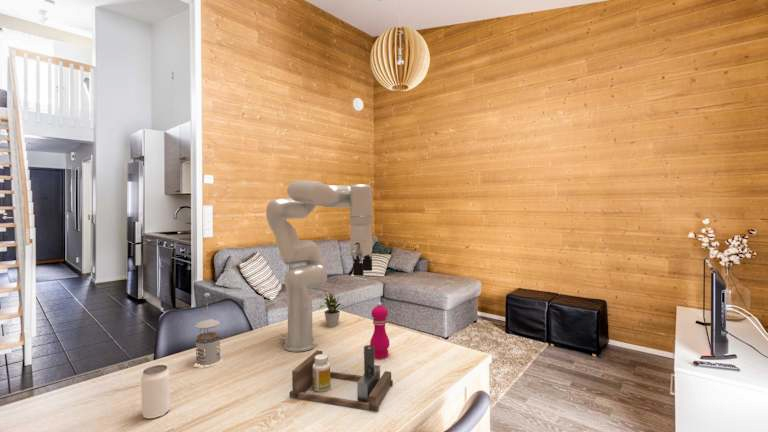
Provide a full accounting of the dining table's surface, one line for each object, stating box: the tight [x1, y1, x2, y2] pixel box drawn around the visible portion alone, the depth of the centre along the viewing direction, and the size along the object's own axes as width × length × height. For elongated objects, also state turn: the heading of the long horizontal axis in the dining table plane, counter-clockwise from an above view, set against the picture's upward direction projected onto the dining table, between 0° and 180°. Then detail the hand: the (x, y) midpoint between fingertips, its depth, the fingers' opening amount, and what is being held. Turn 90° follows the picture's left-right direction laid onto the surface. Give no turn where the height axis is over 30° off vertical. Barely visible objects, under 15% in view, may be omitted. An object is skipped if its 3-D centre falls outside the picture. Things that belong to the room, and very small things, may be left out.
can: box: [140, 364, 171, 417], centre depth 101 cm, size 6×6×12 cm
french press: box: [194, 292, 222, 366], centre depth 134 cm, size 10×12×25 cm
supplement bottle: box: [312, 353, 331, 393], centre depth 114 cm, size 5×5×10 cm
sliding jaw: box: [356, 344, 381, 403], centre depth 110 cm, size 3×12×14 cm, turn 163°
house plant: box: [318, 290, 347, 328], centre depth 173 cm, size 14×14×16 cm
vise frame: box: [288, 350, 394, 413], centre depth 112 cm, size 27×16×8 cm, turn 73°
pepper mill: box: [369, 301, 390, 360], centre depth 138 cm, size 7×7×20 cm
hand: (363, 273), depth 124 cm, fingers open, 9 cm apart
